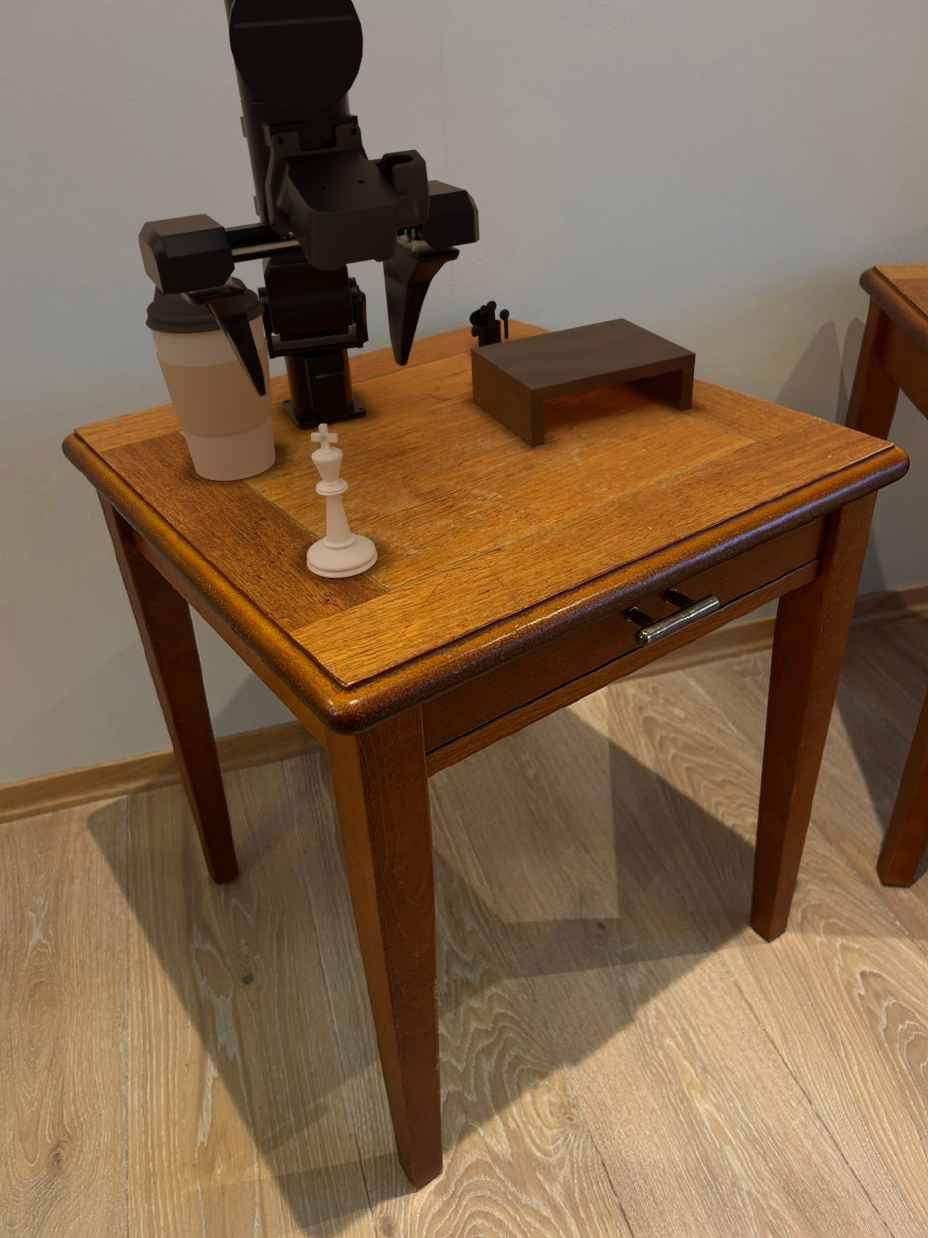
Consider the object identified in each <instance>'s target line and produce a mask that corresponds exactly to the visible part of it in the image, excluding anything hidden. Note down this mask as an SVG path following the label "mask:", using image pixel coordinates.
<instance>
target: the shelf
mask: <svg viewBox="0 0 928 1238" xmlns="http://www.w3.org/2000/svg"><path fill="white" fill-rule="evenodd" d="M696 356H697V354H696V352H694V351H692V350H689V349H688V348H685V347H683V346H682V345H679V344H677V343H675V342H674V341H671V340H669V339H666V338H664V337H663V336H660V335H659V334H656V333H654V332H652V331H651V330H648V329H647V328H644V327H642V326H640V325H638V324H635V323H634V322H631V321H629V320H627V319H625V318H623V317H621V318H616V319H615V318H614V319H611V320H606V321H600V322H595V323H592V324H586V325H581V326H576V327H575V326H574V327H571V328H566V329H560V330H556V331H551V332H547V333H542V334H541V333H540V334H537V335H536V334H535V335H532V336H527V337H522V338H517V339H511V340H507V341H501V343H496V344H491V345H486V346H481V347H479V346H477V347H472V348H470V364H471V383H472V384H471V385H472V386H471V387H472V399H473V400H472V401H473V402H474V403H475V404H476V405H478V406H479V407H481V409H483V410H485V411H486V412H487V413H488V414H489V415H491V416H492V417H493V418H495V419H496V420H497V421H499V422H500V423H501V424H503V425H504V426H505V427H506V428H507V429H509V430H510V431H511V432H513V433H514V434H515V435H517V436H518V437H519V438H521V439H522V440H523V441H524V442H525V443H527V444H528V445H529V446H531V447H537V446H539V445H544V444H545V401H549V400H552V399H557V398H562V397H567V396H571V395H574V394H575V395H576V394H579V393H583V392H588V391H593V390H597V389H601V388H606V387H610V386H614V385H615V386H616V385H619V384H623V383H628V382H630V383H631V384H633V385H635V386H637V387H639V388H640V389H642V390H644V391H645V392H647V393H649V394H651V395H652V396H654V397H656V398H658V399H659V400H661V401H663V402H665V403H666V404H668V405H670V406H672V407H673V408H675V409H677V410H679V411H684V410H689V409H691V408H692V405H693V394H694V380H695V367H696V359H697V358H696Z"/></svg>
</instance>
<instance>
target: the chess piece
mask: <svg viewBox="0 0 928 1238" xmlns="http://www.w3.org/2000/svg"><path fill="white" fill-rule="evenodd" d="M317 426H318V432H312V433H311V434H310V441H311V442H312V443H320V448H318V449H316V450H314V451H313V452H312V453H311V460H312V462H313V465H314V466H315V467H316V469H317V471H318V473H319V475H320V477H321V479H322V480H321V481H318V483H317V484H316V486H315V492H316V493H317V494H318V495H320V496H324V497H325V507H326V510H325V511H326V535H325V536H323V538H321V539H319V540H317V541H315V542H314V543H313V544H312V545H311V546H310V547H309V549H308V550H307V552H306V566H307V568H308V570H309V571H310V572H311V573H313V574H315V575H317V576H320V577H323V578H330V579H331V578H332V579H341V578H348V577H349V578H350V577H353V576H357V575H359V574H362V573H363V572H366V571H367V570H370V569H371V568H372V567H373V566H374V565H375V564H376V562H377V560H378V552H377V549H376V545H375V543H374V542H373V541H372V540H371V539H370V538H368V537H366V536H364V535H361V534H357V533H354V532H352V531H351V529H350V526H349V523H348V519H347V515H346V512H345V509H344V505H343V501H342V496H341V494H343V493H345V492H346V491H347V490H348V489H349V485H348V483H347V481H346V480H345V479H343V478H340V477H339V476H340V470H341V465H342V461H343V454H344V453H343V451H342V450H341V449H340V448H339V447H334V446H331V443H337V442H338V441H339V434H338V433H337V432H336V433H335V432H329V428H328V423H325V424H320V425H317Z"/></svg>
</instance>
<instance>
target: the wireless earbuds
mask: <svg viewBox="0 0 928 1238" xmlns="http://www.w3.org/2000/svg"><path fill="white" fill-rule="evenodd" d="M497 306H498V305H497V302H496V301H495V300H490V301H487V303H486V304H482V305H481V306H480V308H477V309H476V310H474V311H472V312H471V314H470V315H469V318H468V319H469V323H470V325H471V329H470V334H471V337H473V338H476V337H477V342H478V343H477V344H478V346H477V347H481V346H486V345H491V344H496V343H501V342H502V325H501V323H502V322H501V321H503V333H504V334H503V337H504V340H509V336H510V335H509V317H510V311H509V310H508V309H507V308H504V309H501V310H500V311H499V314H498V317H499V318H500V319H501V320H499V319H496V310H497Z"/></svg>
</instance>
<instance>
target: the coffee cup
mask: <svg viewBox="0 0 928 1238" xmlns="http://www.w3.org/2000/svg"><path fill="white" fill-rule="evenodd" d="M231 279H232V280H233V281H234V282H236V283H237V284H238V285H239V286H240V287H242V288H243V289H244V291H245V303H246V313H247V317H248V320H249V324H250V327H251V331H252V334H253V338H254V341H255V345H256V348H257V352H258V356H259V359H260V363H261V366H262V370H263V374H264V381H265V388H266V395H264V396H259V395H258V393H257V392H256V391H255V389H254V387H253V386H252V384H251V382H250V380H249V378H248V377H247V375H246V373H245V371H244V369H243V368H242V366H241V364H240V362H239V360H238V359H237V357H236V355H235V353H234V351H233V350H232V348H231V346H230V344H229V342H228V341H227V339H226V337H225V335H224V333H223V332H222V330H221V328H220V327H219V325H218V324H217V322H216V321H215V319H214V318H213V316H212V315H211V314H210V312H209V311H208V309H207V308H206V307H205V305H191V304H189V303H188V302H187V301H186V300H185V298H184V297H183V296H182V295H181V294H163V293H162V291H161V290H160V289H159V288H158V287H157V286H156V285H155V286H154V293H153V294H154V295H153V300H152V301H151V303H149V304H148V306H147V308H146V314H147V317H146V319H145V320H146V321H145V325H146V327H148V328H149V329H150V331H151V332H150V333H151V335H152V339H153V341H154V345H155V347H156V358H157V360H158V364H159V366H160V370H161V373H162V376H163V377H164V379H163V380H164V381H165V385H166V388H167V391H168V394H169V396H170V400H171V403H172V406H173V408H174V411H175V415H176V418H177V421H178V424H179V426H180V428H182V432H183V435H184V438H185V441H186V445H187V447H188V448H187V449H188V451H189V454H190V457H191V460H192V464H193V466H194V469H195V472H196V474H197V475H199V476H200V477H201V478H203V479H207V480H209V481H210V480H211V481H217V482H228V481H237V480H238V481H239V480H244V479H248V478H252V477H254V476H257V475H260V474H262V473H264V472H266V471H268V470H269V468H271V467H272V466H273V465H274V464H275V462H276V449H275V437H274V430H273V429H274V427H273V416H272V414H273V400H272V399H273V397H272V386H271V373H270V362H269V360H270V359H269V353H268V347H267V339H266V337H265V331H264V326H263V319H262V313H263V312H264V306H263V305H262V304H261V302H260V301H259V296H258V293H256V291H254V290H252V289H250V288H248V287H247V286H246V284H245V283H244V281H243V280H242V279H240V278H238V277H235V276H231Z"/></svg>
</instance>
